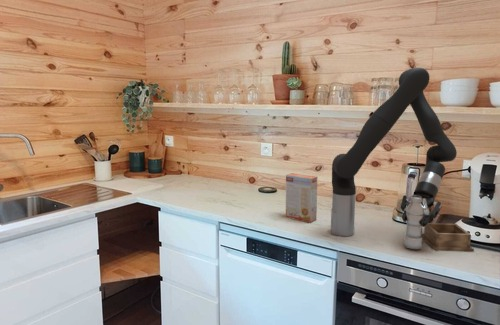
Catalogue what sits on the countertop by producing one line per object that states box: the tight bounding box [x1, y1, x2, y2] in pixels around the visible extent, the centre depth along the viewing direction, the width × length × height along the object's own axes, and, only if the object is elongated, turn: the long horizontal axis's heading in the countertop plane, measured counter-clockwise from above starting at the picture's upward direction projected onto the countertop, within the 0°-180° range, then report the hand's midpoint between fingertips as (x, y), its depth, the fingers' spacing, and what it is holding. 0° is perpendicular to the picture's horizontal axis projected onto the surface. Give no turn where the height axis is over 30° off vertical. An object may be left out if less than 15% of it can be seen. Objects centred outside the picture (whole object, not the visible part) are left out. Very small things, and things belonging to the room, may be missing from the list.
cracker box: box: [285, 173, 318, 223], centre depth 167 cm, size 14×6×21 cm, turn 48°
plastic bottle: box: [403, 194, 425, 251], centre depth 132 cm, size 6×7×20 cm
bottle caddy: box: [422, 222, 475, 253], centre depth 138 cm, size 14×14×6 cm
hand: (413, 223), depth 131 cm, fingers closed on plastic bottle, 6 cm apart
